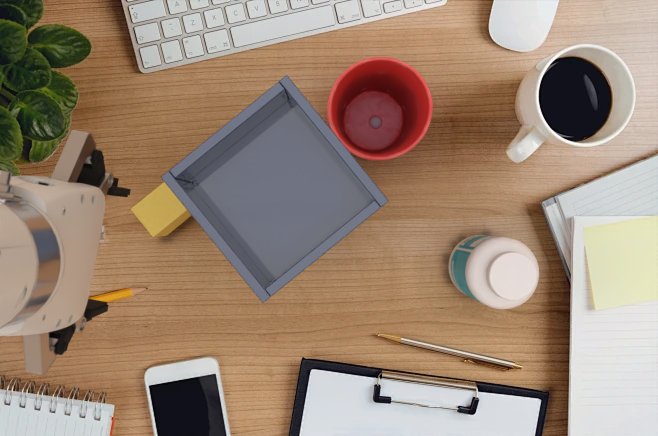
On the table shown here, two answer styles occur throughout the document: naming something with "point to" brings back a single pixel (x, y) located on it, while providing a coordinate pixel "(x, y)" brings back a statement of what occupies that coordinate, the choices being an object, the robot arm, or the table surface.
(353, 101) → the flower pot
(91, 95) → the table surface
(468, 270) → the pill bottle
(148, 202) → the sponge
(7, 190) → the robot arm
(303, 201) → the open box
